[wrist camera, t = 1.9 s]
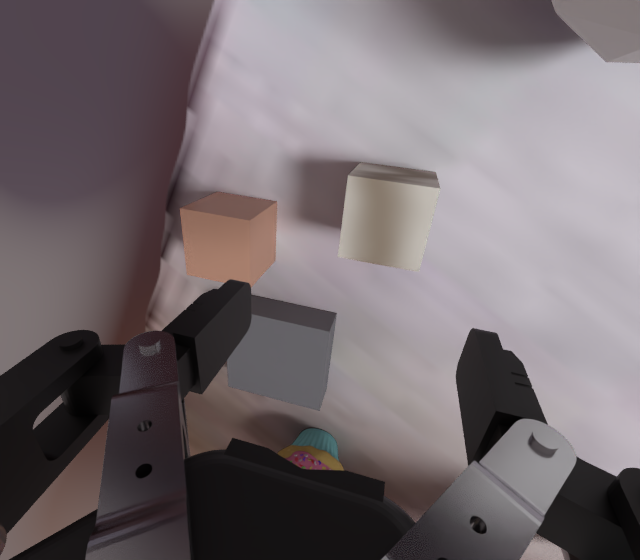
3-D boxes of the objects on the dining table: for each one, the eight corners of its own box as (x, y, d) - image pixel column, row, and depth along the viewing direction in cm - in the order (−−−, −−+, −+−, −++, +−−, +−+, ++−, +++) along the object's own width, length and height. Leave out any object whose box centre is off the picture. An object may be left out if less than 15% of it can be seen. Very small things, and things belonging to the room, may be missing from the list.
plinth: (336, 313, 32) (329, 331, 29) (326, 389, 37) (319, 410, 34) (238, 292, 34) (223, 307, 31) (240, 367, 39) (228, 386, 36)
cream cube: (435, 172, 24) (440, 188, 20) (418, 242, 27) (418, 271, 22) (360, 162, 25) (347, 175, 21) (351, 230, 28) (337, 256, 23)
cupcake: (294, 406, 39) (251, 514, 29) (363, 435, 39) (344, 556, 28) (279, 448, 44) (237, 555, 33) (341, 475, 43) (317, 592, 33)
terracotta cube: (277, 201, 28) (249, 220, 24) (275, 260, 31) (250, 288, 26) (217, 191, 29) (179, 208, 25) (220, 249, 32) (187, 274, 27)
